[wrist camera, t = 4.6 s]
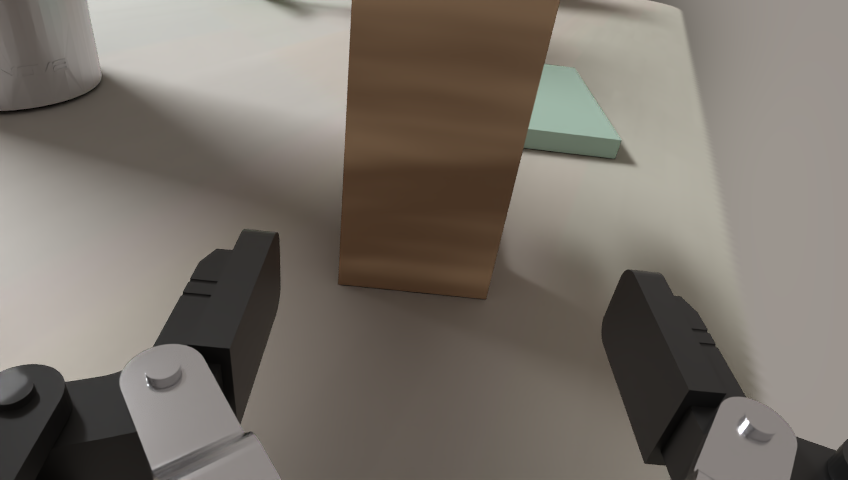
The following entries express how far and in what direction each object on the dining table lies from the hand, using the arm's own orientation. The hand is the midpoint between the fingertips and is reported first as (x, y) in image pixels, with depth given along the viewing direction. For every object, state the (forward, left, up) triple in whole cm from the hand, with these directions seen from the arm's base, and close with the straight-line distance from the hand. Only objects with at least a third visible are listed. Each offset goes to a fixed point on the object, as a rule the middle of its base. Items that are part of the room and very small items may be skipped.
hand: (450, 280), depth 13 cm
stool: (-8, +7, -6) cm, 12 cm away
